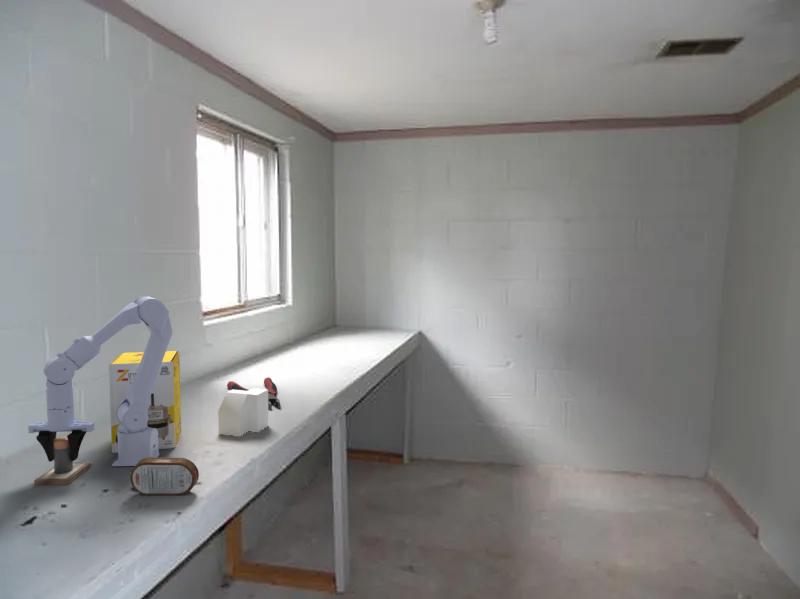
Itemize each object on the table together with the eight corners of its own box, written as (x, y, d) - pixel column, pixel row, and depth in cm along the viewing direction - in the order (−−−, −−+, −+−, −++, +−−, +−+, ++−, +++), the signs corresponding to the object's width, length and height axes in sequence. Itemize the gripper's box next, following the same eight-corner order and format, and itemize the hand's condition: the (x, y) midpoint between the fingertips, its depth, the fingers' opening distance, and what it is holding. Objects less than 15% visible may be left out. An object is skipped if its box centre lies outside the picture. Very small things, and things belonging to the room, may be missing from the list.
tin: (199, 490, 130) (198, 456, 129) (195, 496, 127) (194, 461, 126) (135, 490, 130) (133, 456, 129) (128, 496, 127) (127, 461, 126)
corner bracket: (268, 426, 177) (268, 389, 176) (249, 438, 166) (249, 399, 165) (239, 423, 180) (238, 386, 178) (218, 434, 169) (217, 395, 168)
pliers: (299, 408, 199) (299, 399, 199) (250, 415, 191) (250, 405, 190) (270, 384, 232) (270, 376, 231) (227, 389, 223) (227, 380, 223)
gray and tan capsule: (76, 469, 138) (75, 438, 138) (58, 474, 135) (58, 442, 134) (68, 466, 140) (67, 435, 140) (51, 471, 137) (50, 439, 137)
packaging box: (112, 453, 153) (108, 364, 150) (124, 433, 168) (121, 352, 166) (175, 448, 157) (172, 361, 155) (181, 429, 173) (179, 350, 170)
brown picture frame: (91, 465, 144) (91, 461, 144) (69, 484, 133) (68, 479, 133) (59, 466, 143) (59, 462, 143) (34, 484, 132) (34, 480, 132)
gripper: (98, 401, 141) (100, 452, 142) (38, 402, 139) (40, 454, 141) (86, 409, 134) (88, 463, 135) (22, 410, 132) (25, 465, 134)
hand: (63, 459), depth 138 cm, fingers open, 5 cm apart
